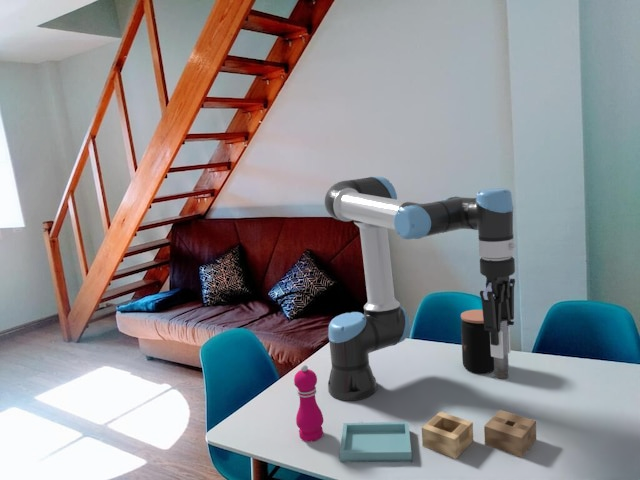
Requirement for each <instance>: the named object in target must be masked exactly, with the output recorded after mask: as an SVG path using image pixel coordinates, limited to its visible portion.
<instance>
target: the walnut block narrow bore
mask: <svg viewBox="0 0 640 480" xmlns="http://www.w3.org/2000/svg"><path fill="white" fill-rule="evenodd" d="M483 428H484V445H485V446H487V447H491V448H492V449H493V448H494V449H497V450H499V451H502V452H505V453H507V454H509V455H513V456H516V457H519V458H523V457H524V456H525V454H526V453H527V452H528V451H529V450H530V448H531V447H532V446H533V445H534V443H535V442H536V440H537V420H536V419H533V418H529V417H525V416H521V415H520V414H519V415H518V414H514V413H511V412H508V411H506V410H505V411H504V410H502V409H499V410H498V411H497V412H496V413H495V414H494V415H493V416H492V417H491V418H490V419H489V421H487V423H486V424H484V427H483Z"/></svg>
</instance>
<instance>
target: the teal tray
mask: <svg viewBox="0 0 640 480" xmlns="http://www.w3.org/2000/svg"><path fill="white" fill-rule="evenodd" d="M409 425H410V424H409V421H394V422H393V421H391V422H390V421H389V422H387V421H386V422H384V421H383V422H343V425H342V432H341V442H340V446H339V447H340V449H339V460H340V463H379V462H380V463H385V462H386V463H388V462H389V463H391V462H392V463H393V462H394V463H398V462H400V463H401V462H408V463H409V462H413V459H412V457H413V456H412V446H411V436H410V435H411V434H410V427H409Z"/></svg>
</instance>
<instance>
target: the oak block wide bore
mask: <svg viewBox="0 0 640 480" xmlns="http://www.w3.org/2000/svg"><path fill="white" fill-rule="evenodd" d="M421 441H422V442H421V443H422V447H424V448H427V449H430V450H432V451H434V452H437V453H440V454H443V455H445V456H447V457H450V458H451V459H452V458H453V459H454V460H456V459H457V458H459V456H460V455H462V454H463V452H464V451H465V450H466V449H467V448H468V447H469V446H470V445H471V444H472V443H473V442H474V423H473V421H470V420H467V419H464V418H461V417H458V416H455V415H451V414H449V413H445V412H444V411H443V412H442V411H439V412H438V413H436V415H434V416H433V417H432V418H431V419H430V420H429V421H427V422H426V423H425V424H423V426H422V427H421Z"/></svg>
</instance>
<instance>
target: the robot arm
mask: <svg viewBox="0 0 640 480" xmlns="http://www.w3.org/2000/svg"><path fill="white" fill-rule="evenodd" d="M397 194H398V193H397V191H396V189H395V187H394V185H393V184H392V182H391V181H390V180H389V179H388V178H386V177H383V176H370V177H363V178H356V179H350V180H349V179H346V180H341V181H338V182H337V183H335V184H333V185H332V186H331V187H329V189H328V190H327V191H326V193H325V197H324V207H325V210H326V211H327V213H328V214H329V215H330V217H332V218H333V219H335V220H337V221H342V222H345V223H346V222H351V221H353V223H354V225H355V226H357V227H358V228H359V234H360V243H361V251H362V260H363V262H362V263H363V269H364V278H365V287H366V288H365V289H366V297H367V302H366V303H365V304H364V305H363V311H364V312H363V313H362V312H359V311H351V312H345V313H341V314H339V315H336V316H335V317H334V318H332V319H331V321H330V322H329V323H328V335H327V336H328V340H329V349H330V359H331V369H330V372H329V373H330V374H329V379H328V382H327V388H328V393H329V395H330V396H331V397H333V398H335V399H338V400H342V401H343V400H344V401H357V400H363V399H366V398H369V397H371V396H372V395H374V394H375V392H376V391H377V387H378V386H377V379H376V376H375V375H374V373H373V371H372V368H371V365H370V359H369V357H370V356H369V354H370V353H373V352H376V351H379V350H383V349H386V348H389V347H394V346H396V345H398V344H400V343H402V342H404V341H405V340H406V339H407V337H408V336H409V333H410V330H411V321H410V320H411V319H410V317H409V315H408V314H407V311H406V309H405V308H404V307H402V306H401V303H400V302H399V301H398V300H397V299H396V297H395V290H394V280H393V278H394V277H393V270H392V269H393V268H392V258H391V249H390V243H389V242H390V240H389V233H388V232H389V231H388V229H389V230H392V231H396V233H397V235H399V236H400V238H402V239H404V240H420V239H422V238H425V237H429V236H434V235H439V234H444V233H448V232H453V231H454V232H455V231H458V230H473V231H477V234H478V254H479V255H478V256H479V257H480V258H479V272H480V274H481V276H484V277H485V278H486V282H485V289H484V290H480V291H479V296H480V299H481V308H482V309H481V310H483V320H484V330H486V331H490V347H491V356H492V357H496V358H501V359H502V358H503V333H502V331H500V324H501V318H502V319H506V320H507V335H508V354H510V353H511V350H512V349H511V331H510V329H511V327H510V326H514V325H515V321H513V320H514V319H515V286H516V285H515V283H516V279H515V278H511V277H510V276H512V275H514V274H515V272H516V266H515V265H516V264H515V262H516V261H515V258H514V257H513V256H514V255H515V248H516V243H514V205H513V198H512V197H513V195H512V192H511V191H510V190H509V189H507V188H486V189H482V190H481V189H480V190H478V191H477V193H476V197H461V196H450V197H445V198H443V199H442V200H440V201H439V200H438V201H434V202H432V201H431V202H425V203H418V202H411V201H408V200H407V201H406V200H401V199H398V195H397Z"/></svg>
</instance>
